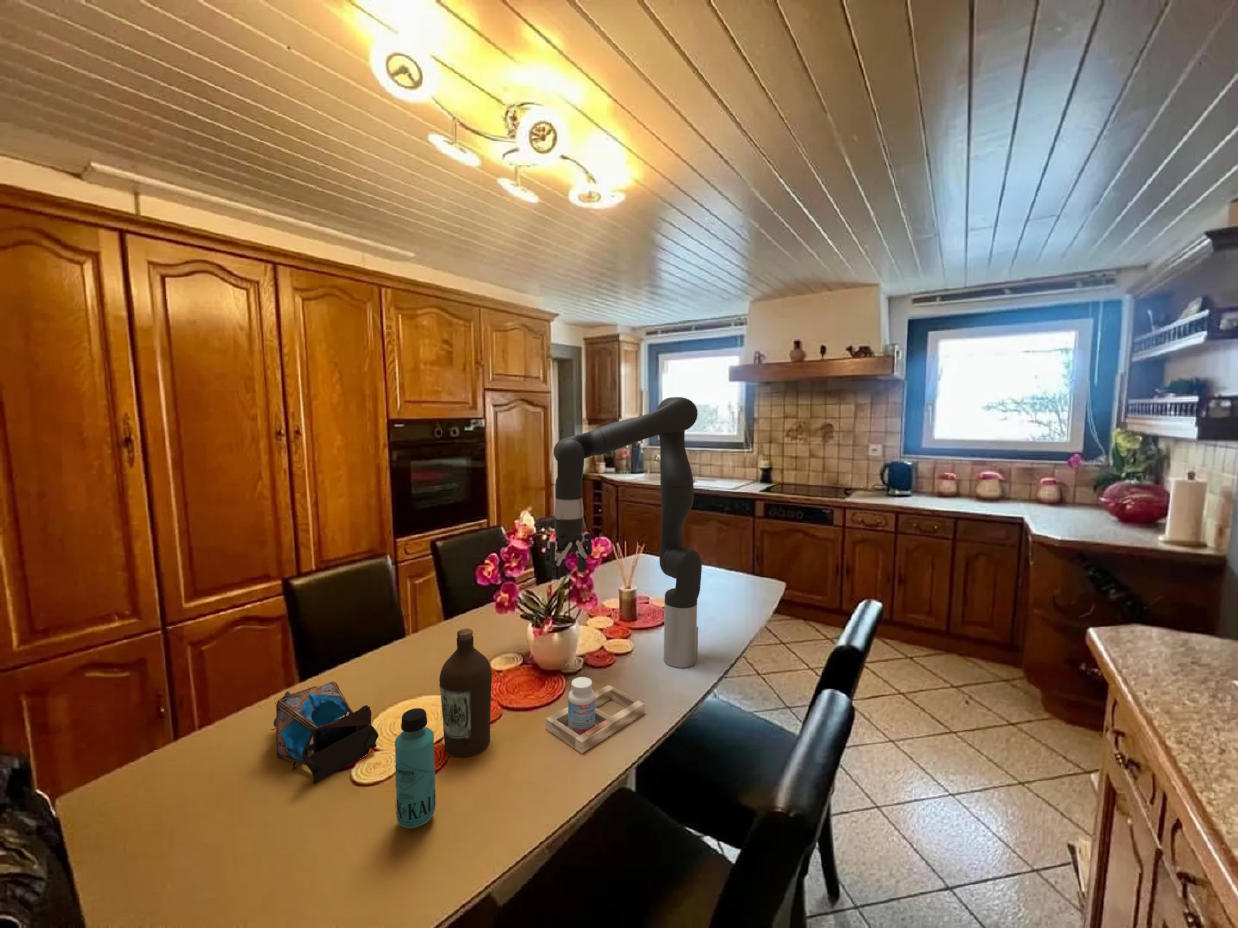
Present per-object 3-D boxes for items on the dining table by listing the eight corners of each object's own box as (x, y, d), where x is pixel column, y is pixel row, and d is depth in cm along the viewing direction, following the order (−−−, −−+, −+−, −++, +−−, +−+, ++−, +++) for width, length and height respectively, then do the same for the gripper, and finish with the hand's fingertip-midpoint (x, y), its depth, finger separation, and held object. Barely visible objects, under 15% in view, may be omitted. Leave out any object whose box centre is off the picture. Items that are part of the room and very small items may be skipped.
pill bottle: (573, 741, 111) (573, 691, 110) (564, 725, 116) (564, 678, 115) (599, 734, 113) (599, 686, 112) (589, 719, 119) (589, 673, 118)
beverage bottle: (403, 809, 91) (399, 703, 89) (441, 807, 92) (438, 701, 90) (390, 839, 85) (385, 725, 83) (431, 836, 86) (428, 723, 84)
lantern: (352, 797, 103) (289, 748, 116) (399, 714, 110) (334, 676, 123) (285, 787, 91) (222, 733, 104) (342, 695, 98) (277, 655, 111)
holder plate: (608, 694, 129) (608, 684, 129) (644, 713, 121) (644, 702, 121) (545, 729, 115) (545, 717, 115) (581, 753, 107) (581, 741, 106)
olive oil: (461, 724, 116) (458, 618, 114) (502, 733, 113) (500, 624, 111) (430, 754, 106) (426, 638, 104) (474, 765, 103) (472, 645, 101)
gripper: (579, 509, 141) (579, 566, 143) (538, 517, 131) (538, 578, 133) (598, 513, 136) (598, 572, 138) (557, 521, 126) (557, 585, 128)
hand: (569, 575), depth 135 cm, fingers open, 8 cm apart
